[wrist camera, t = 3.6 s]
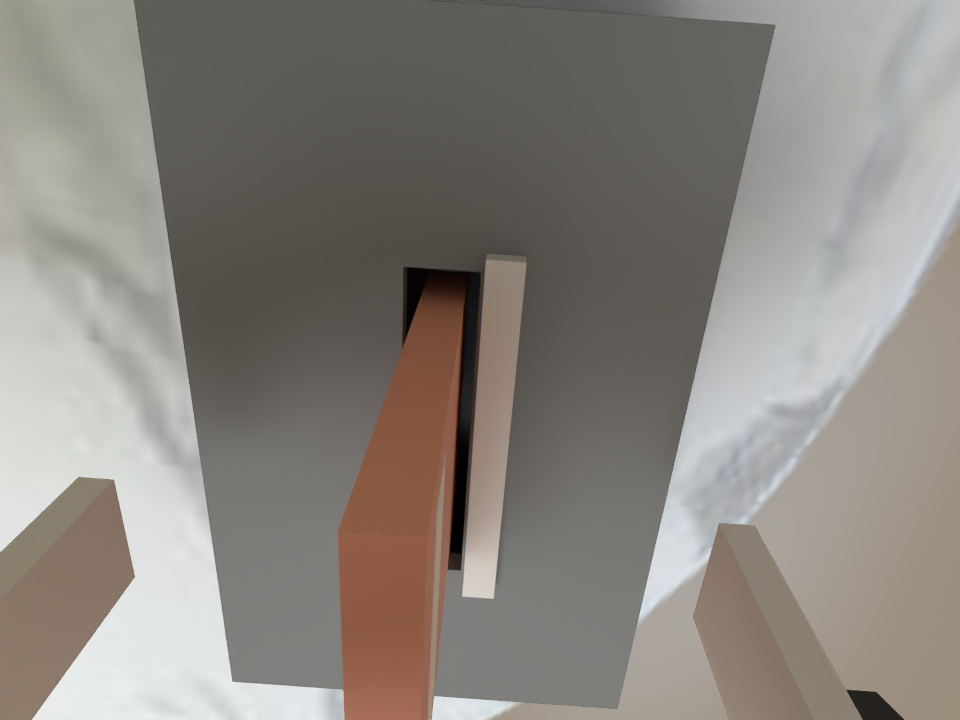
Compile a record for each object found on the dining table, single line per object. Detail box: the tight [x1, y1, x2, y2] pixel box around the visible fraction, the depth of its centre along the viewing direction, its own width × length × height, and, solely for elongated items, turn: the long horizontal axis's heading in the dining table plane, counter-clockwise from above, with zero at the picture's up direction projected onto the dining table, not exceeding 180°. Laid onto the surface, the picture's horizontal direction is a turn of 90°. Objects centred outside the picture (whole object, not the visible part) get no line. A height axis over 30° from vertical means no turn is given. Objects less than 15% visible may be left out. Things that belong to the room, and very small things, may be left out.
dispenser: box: [134, 0, 775, 709], centre depth 23 cm, size 22×14×11 cm, turn 176°
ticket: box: [338, 271, 469, 720], centre depth 16 cm, size 8×1×12 cm, turn 176°
